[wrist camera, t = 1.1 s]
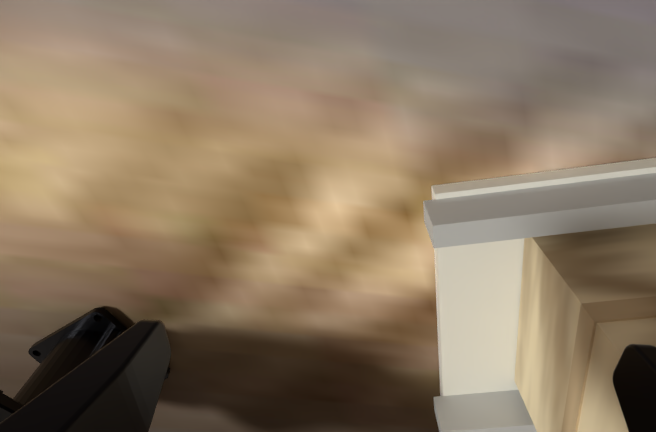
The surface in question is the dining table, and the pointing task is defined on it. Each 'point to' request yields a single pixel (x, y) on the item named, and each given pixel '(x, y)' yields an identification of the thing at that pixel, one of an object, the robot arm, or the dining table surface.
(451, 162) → the dining table surface
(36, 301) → the dining table surface
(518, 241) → the box
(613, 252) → the cream flanged block
